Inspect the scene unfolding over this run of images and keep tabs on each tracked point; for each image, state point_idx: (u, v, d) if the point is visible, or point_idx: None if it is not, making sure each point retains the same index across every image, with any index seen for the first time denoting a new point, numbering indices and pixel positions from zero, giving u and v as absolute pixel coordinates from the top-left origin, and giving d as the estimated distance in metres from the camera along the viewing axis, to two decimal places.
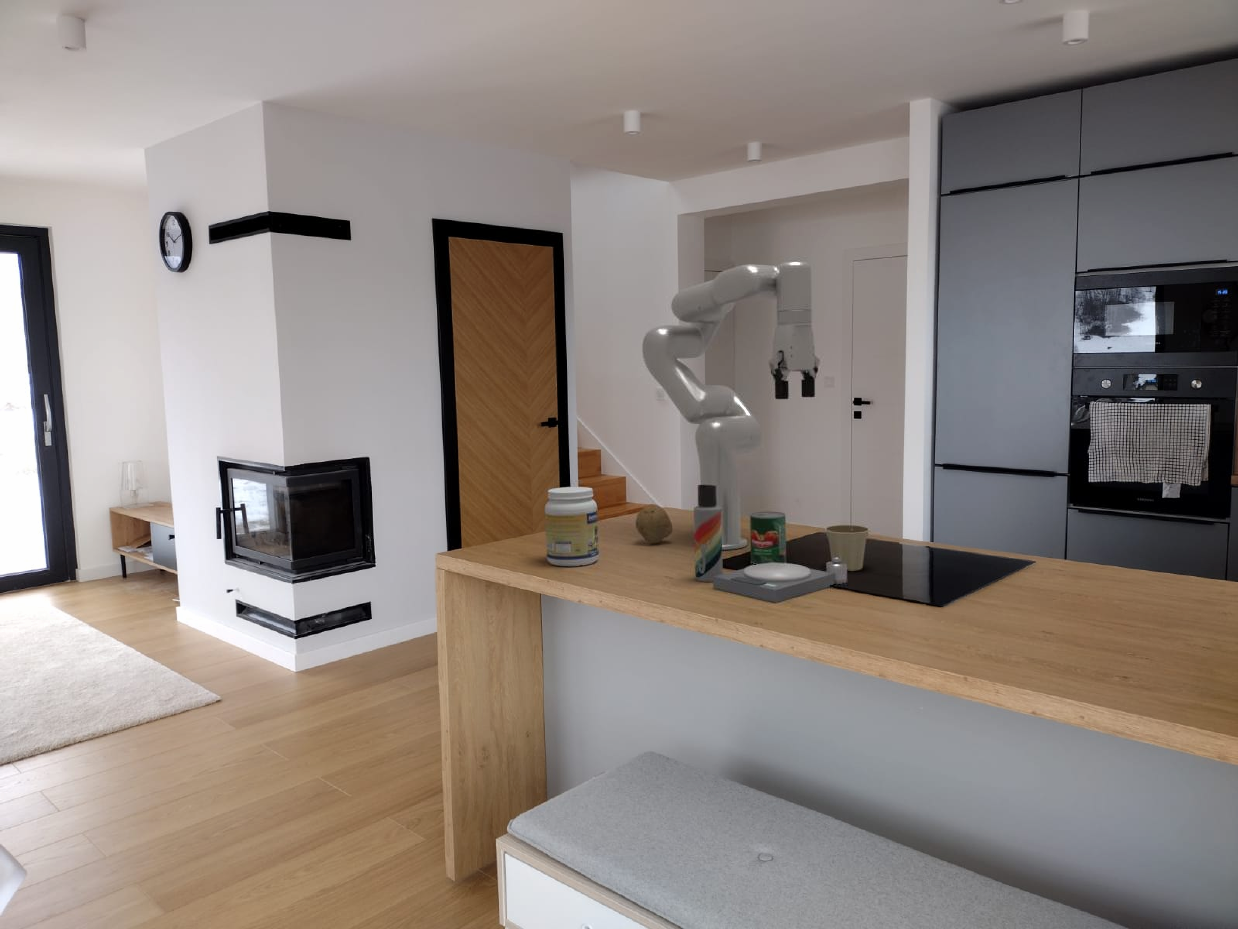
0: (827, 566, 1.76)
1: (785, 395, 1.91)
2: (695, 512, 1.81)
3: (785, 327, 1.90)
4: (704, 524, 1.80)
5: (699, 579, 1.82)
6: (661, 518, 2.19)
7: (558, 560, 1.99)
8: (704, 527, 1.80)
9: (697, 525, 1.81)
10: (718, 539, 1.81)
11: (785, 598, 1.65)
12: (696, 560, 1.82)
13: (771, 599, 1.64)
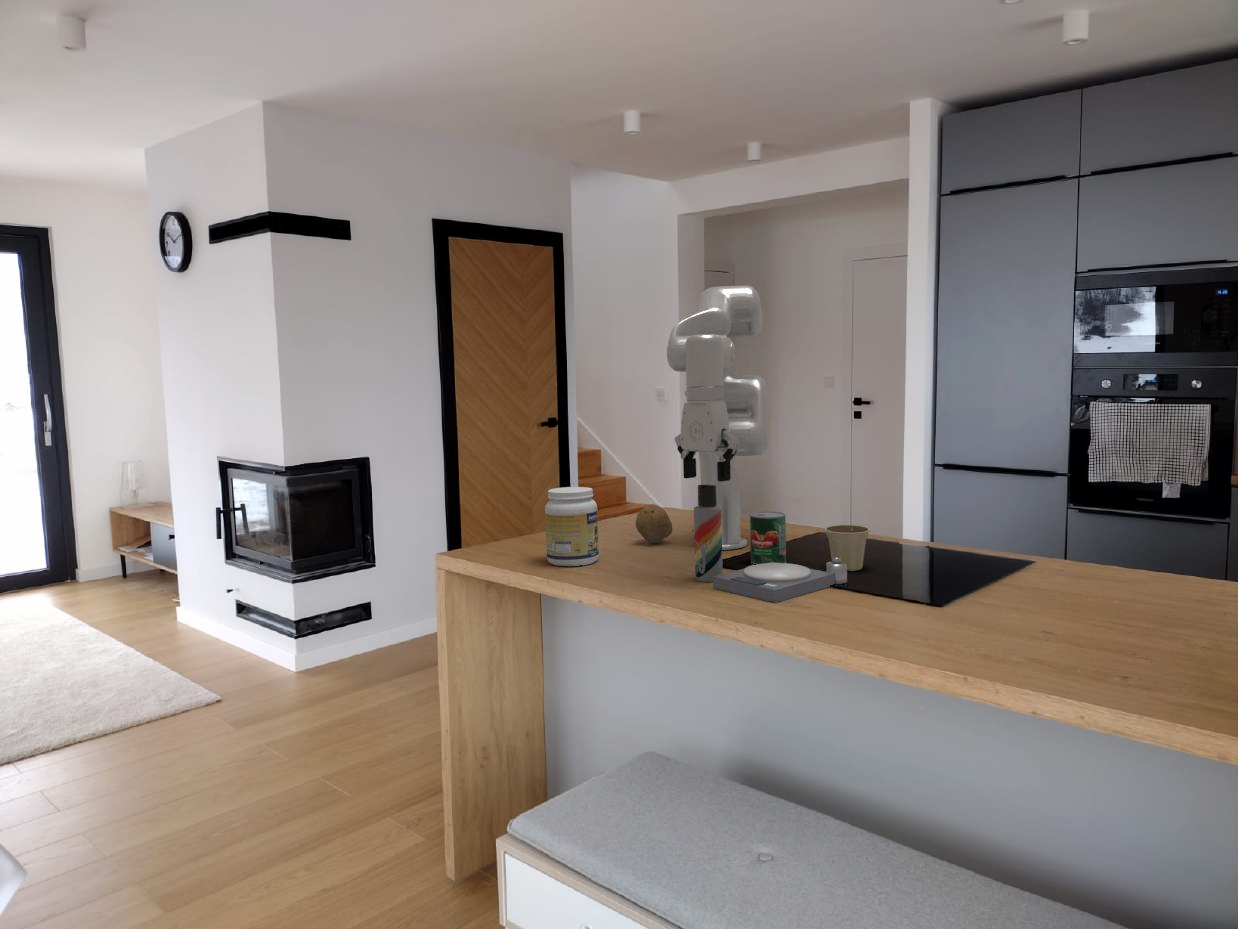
0: (827, 566, 1.76)
1: (729, 476, 1.78)
2: (695, 512, 1.81)
3: (723, 404, 1.77)
4: (704, 524, 1.80)
5: (699, 579, 1.82)
6: (661, 518, 2.19)
7: (558, 560, 1.99)
8: (704, 527, 1.80)
9: (697, 525, 1.81)
10: (718, 539, 1.81)
11: (785, 598, 1.65)
12: (696, 560, 1.82)
13: (771, 599, 1.64)
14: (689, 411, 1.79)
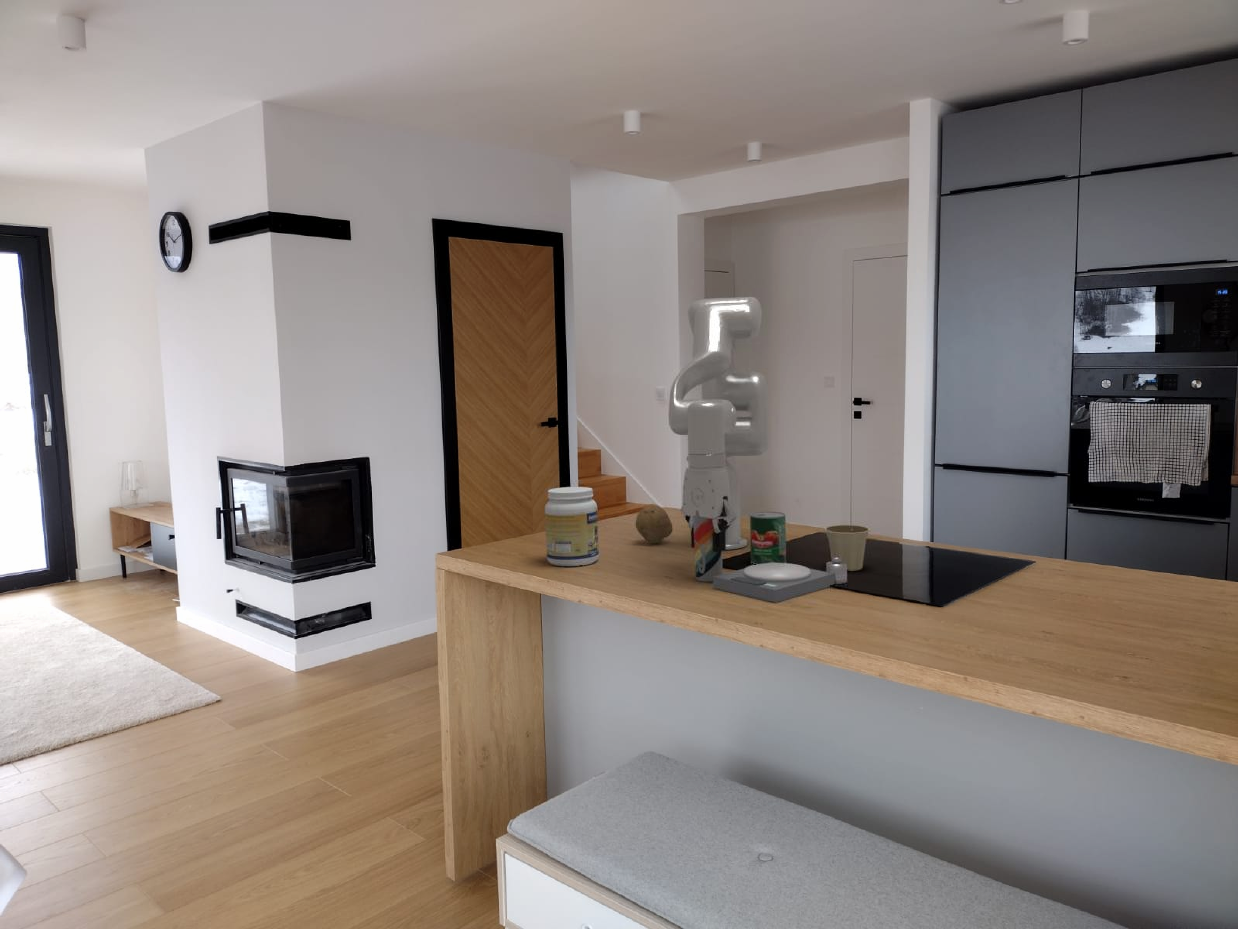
0: (827, 566, 1.76)
1: (724, 546, 1.81)
2: None
3: (725, 471, 1.78)
4: (704, 524, 1.80)
5: (699, 579, 1.82)
6: (661, 518, 2.19)
7: (558, 560, 1.99)
8: (704, 527, 1.80)
9: (697, 525, 1.81)
10: None
11: (785, 598, 1.65)
12: (696, 560, 1.82)
13: (771, 599, 1.64)
14: (691, 477, 1.81)
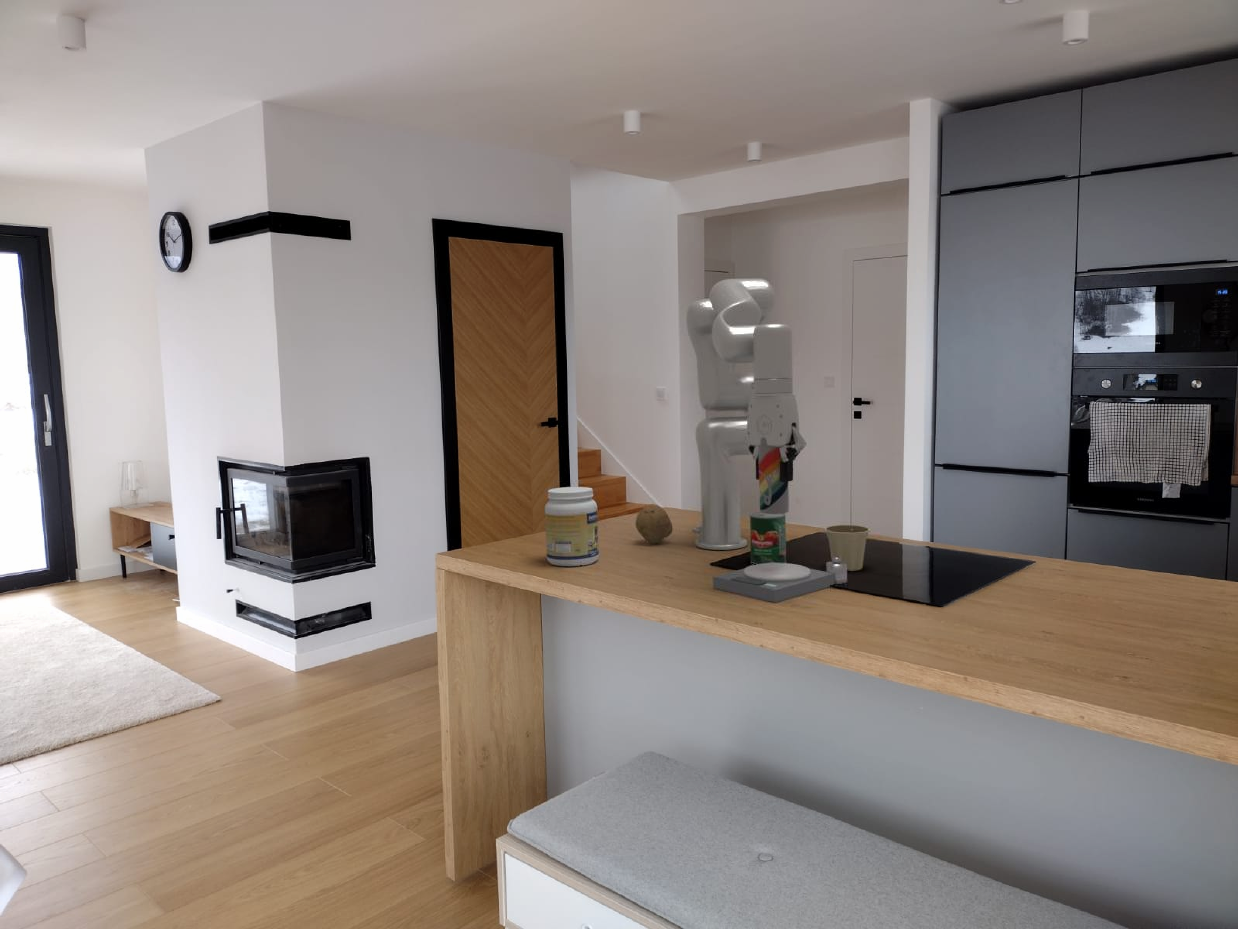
0: (827, 566, 1.76)
1: (791, 476, 1.72)
2: None
3: (793, 397, 1.69)
4: (770, 453, 1.71)
5: (764, 511, 1.73)
6: (661, 518, 2.19)
7: (558, 560, 1.99)
8: (771, 456, 1.71)
9: (762, 454, 1.72)
10: None
11: (785, 598, 1.65)
12: (761, 492, 1.73)
13: (771, 599, 1.64)
14: (757, 404, 1.72)
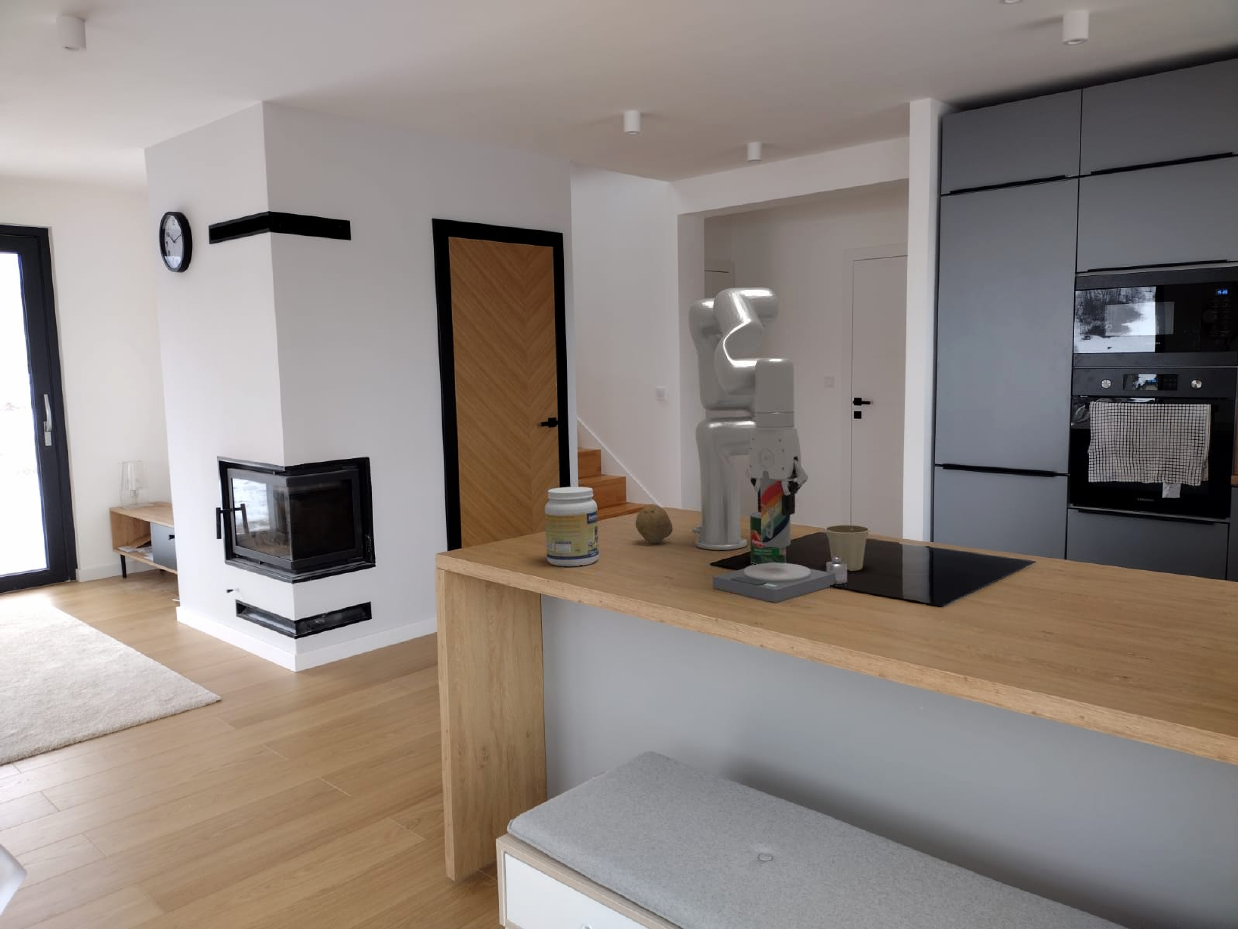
0: (827, 566, 1.76)
1: (793, 510, 1.72)
2: None
3: (795, 430, 1.70)
4: (772, 486, 1.71)
5: (766, 544, 1.73)
6: (661, 518, 2.19)
7: (558, 560, 1.99)
8: (773, 489, 1.71)
9: (764, 487, 1.72)
10: None
11: (785, 598, 1.65)
12: (763, 524, 1.74)
13: (771, 599, 1.64)
14: (759, 437, 1.72)
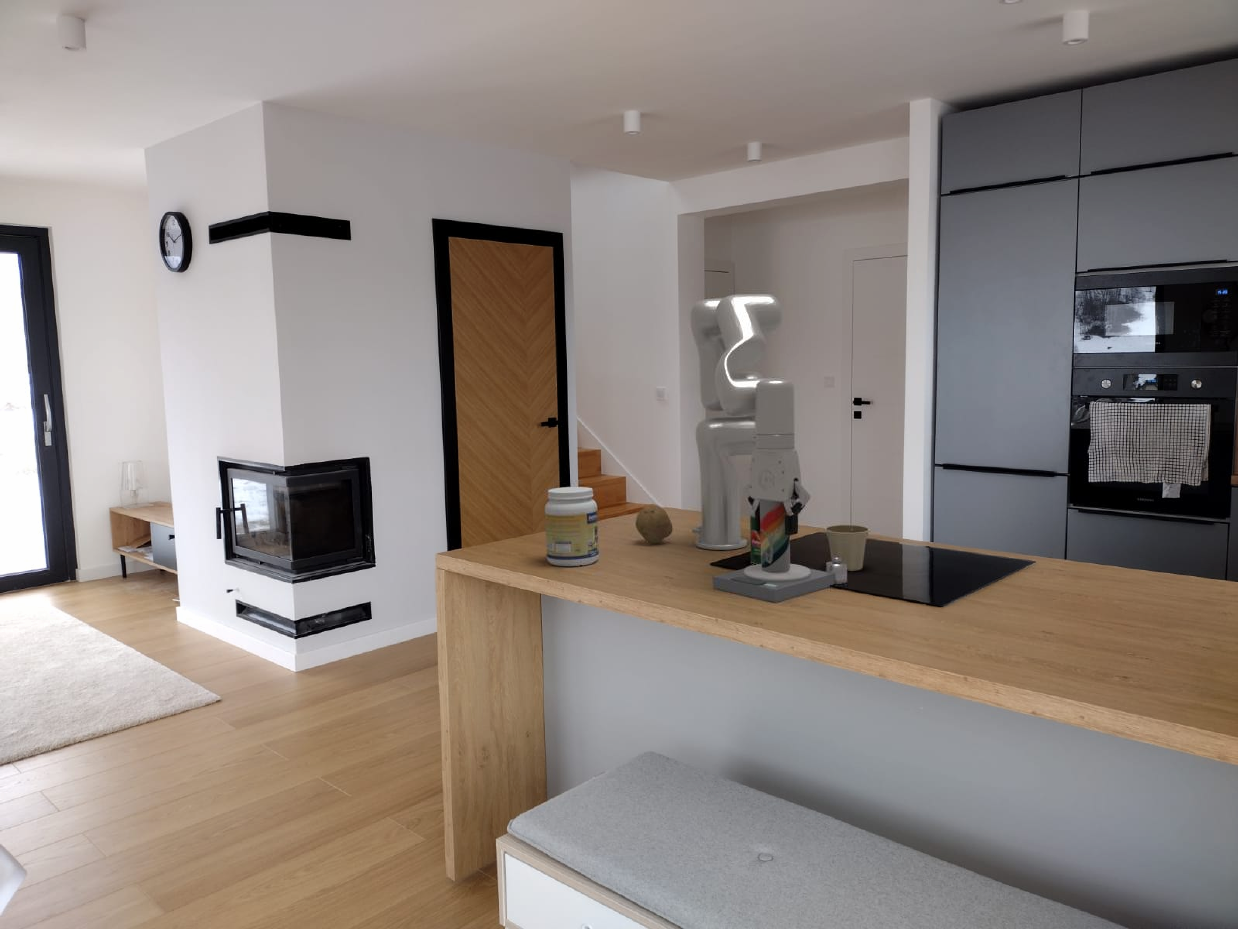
0: (827, 566, 1.76)
1: (796, 529, 1.72)
2: None
3: (795, 452, 1.70)
4: (772, 512, 1.72)
5: (766, 569, 1.74)
6: (661, 518, 2.19)
7: (558, 560, 1.99)
8: (772, 515, 1.72)
9: (764, 513, 1.73)
10: None
11: (785, 598, 1.65)
12: (763, 550, 1.75)
13: (771, 599, 1.64)
14: (759, 459, 1.73)
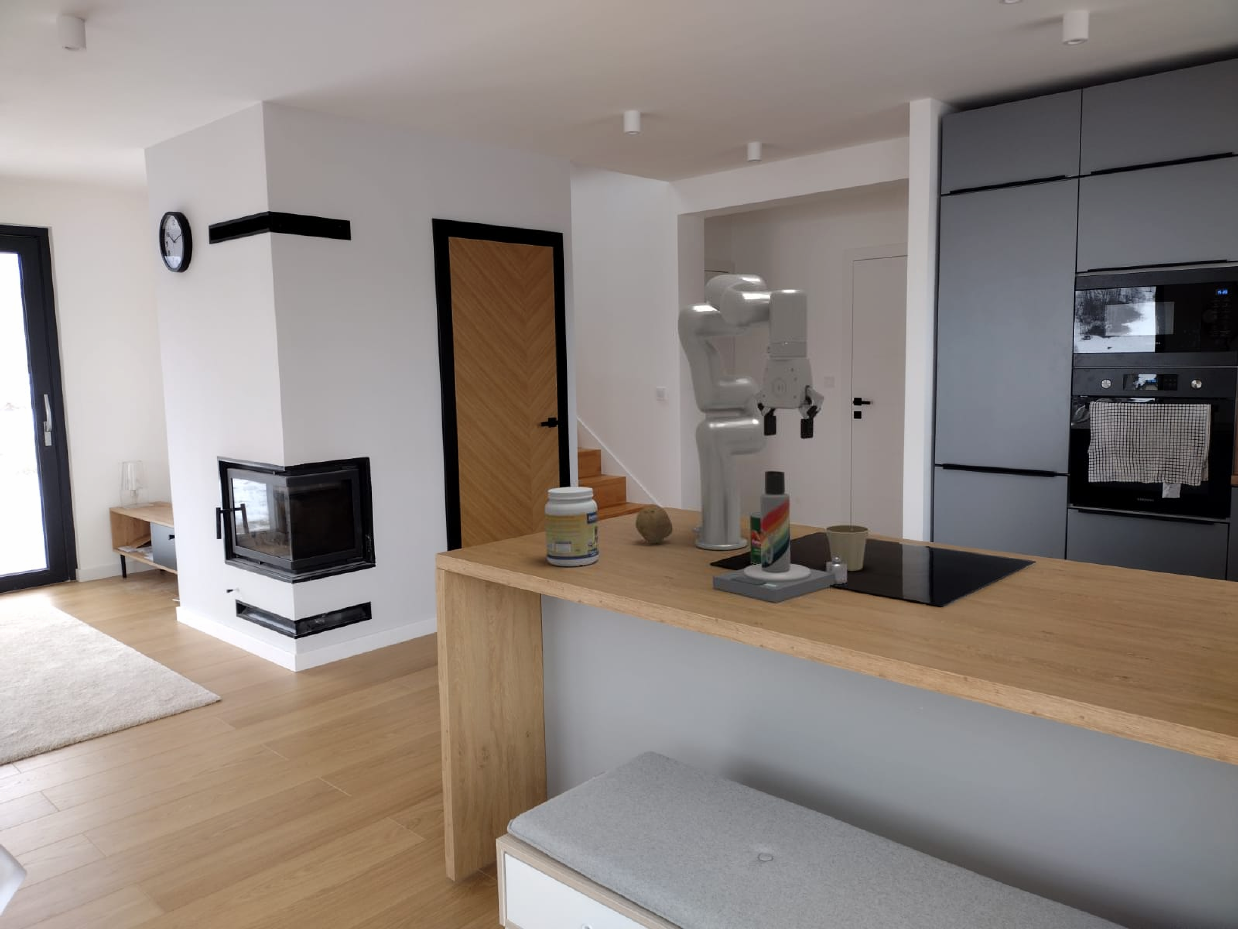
0: (827, 566, 1.76)
1: (811, 433, 1.76)
2: (762, 500, 1.73)
3: (807, 360, 1.75)
4: (772, 512, 1.72)
5: (766, 570, 1.74)
6: (661, 518, 2.19)
7: (558, 560, 1.99)
8: (773, 515, 1.72)
9: (764, 513, 1.73)
10: (786, 528, 1.73)
11: (785, 598, 1.65)
12: (763, 550, 1.74)
13: (771, 599, 1.64)
14: (772, 367, 1.77)
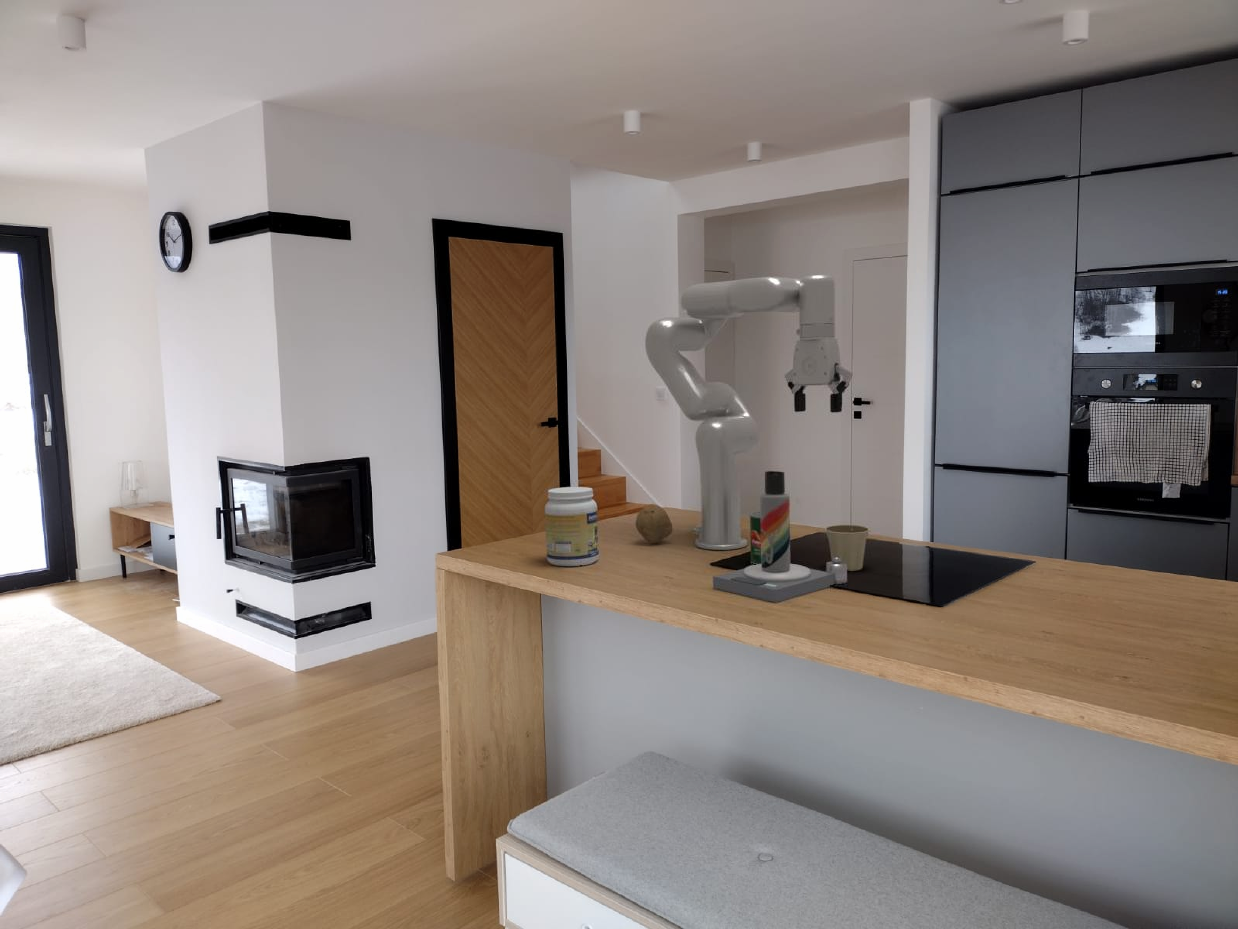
0: (827, 566, 1.76)
1: (840, 408, 1.91)
2: (762, 500, 1.73)
3: (836, 340, 1.89)
4: (772, 512, 1.72)
5: (766, 570, 1.74)
6: (661, 518, 2.19)
7: (558, 560, 1.99)
8: (773, 515, 1.72)
9: (764, 513, 1.73)
10: (786, 528, 1.73)
11: (785, 598, 1.65)
12: (763, 550, 1.74)
13: (771, 599, 1.64)
14: (802, 347, 1.92)
